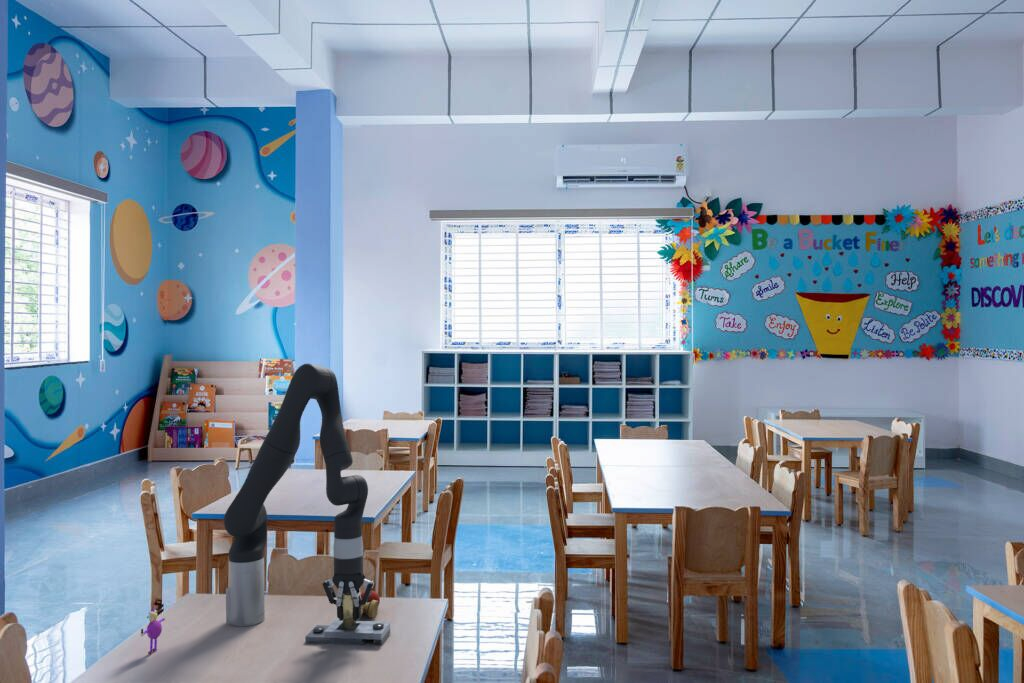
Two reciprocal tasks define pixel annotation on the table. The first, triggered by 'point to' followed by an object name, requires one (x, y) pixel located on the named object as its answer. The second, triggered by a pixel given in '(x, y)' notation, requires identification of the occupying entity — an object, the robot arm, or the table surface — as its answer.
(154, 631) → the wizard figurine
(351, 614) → the brass pin
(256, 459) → the robot arm
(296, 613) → the table surface
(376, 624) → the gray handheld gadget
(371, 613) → the kendama
